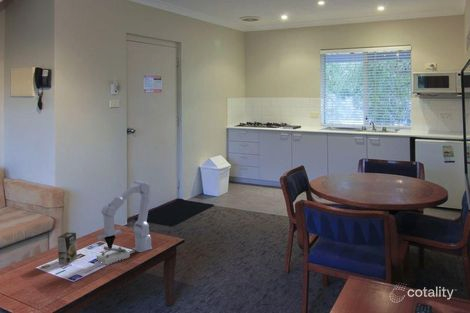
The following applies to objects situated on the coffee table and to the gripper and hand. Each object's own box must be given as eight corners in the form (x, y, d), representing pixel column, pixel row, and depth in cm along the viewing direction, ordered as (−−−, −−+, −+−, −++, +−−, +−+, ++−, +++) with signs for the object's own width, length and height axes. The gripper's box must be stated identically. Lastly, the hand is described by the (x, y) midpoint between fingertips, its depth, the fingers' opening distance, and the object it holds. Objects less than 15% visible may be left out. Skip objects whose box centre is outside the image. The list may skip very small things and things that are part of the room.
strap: (121, 250, 241) (121, 247, 242) (123, 251, 239) (124, 249, 240) (103, 248, 232) (104, 246, 232) (106, 250, 230) (106, 247, 230)
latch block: (120, 252, 245) (120, 245, 245) (129, 257, 239) (129, 249, 238) (96, 260, 234) (96, 252, 233) (105, 265, 227) (105, 257, 226)
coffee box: (68, 264, 227) (66, 237, 224) (58, 263, 228) (56, 237, 226) (77, 258, 236) (76, 232, 233) (68, 257, 237) (66, 231, 235)
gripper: (116, 221, 240) (117, 243, 242) (94, 227, 229) (95, 249, 231) (122, 224, 235) (123, 246, 237) (100, 230, 224) (101, 252, 226)
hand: (109, 248), depth 234 cm, fingers closed
